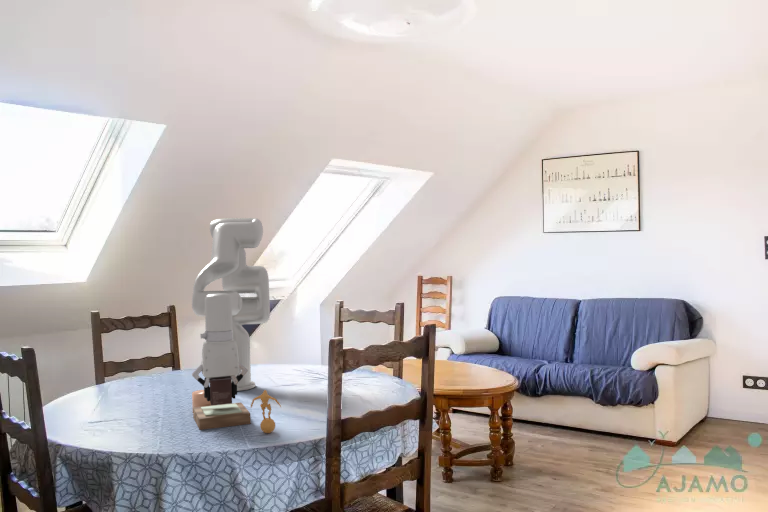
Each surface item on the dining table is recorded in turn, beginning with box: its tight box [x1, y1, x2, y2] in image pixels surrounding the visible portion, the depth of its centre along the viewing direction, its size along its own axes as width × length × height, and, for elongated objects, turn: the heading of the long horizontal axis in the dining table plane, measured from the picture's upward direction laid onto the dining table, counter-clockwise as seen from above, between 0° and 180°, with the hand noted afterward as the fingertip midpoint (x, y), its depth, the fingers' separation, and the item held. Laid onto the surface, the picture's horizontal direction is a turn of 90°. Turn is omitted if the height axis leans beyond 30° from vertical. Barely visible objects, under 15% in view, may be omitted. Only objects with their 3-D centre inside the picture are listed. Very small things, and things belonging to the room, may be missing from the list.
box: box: [209, 376, 233, 405], centre depth 198 cm, size 6×6×7 cm
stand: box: [192, 401, 252, 431], centre depth 198 cm, size 14×14×3 cm
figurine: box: [250, 389, 282, 434], centre depth 184 cm, size 8×6×12 cm
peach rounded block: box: [191, 389, 212, 411], centre depth 209 cm, size 7×7×6 cm
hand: (220, 398), depth 198 cm, fingers closed on box, 6 cm apart
